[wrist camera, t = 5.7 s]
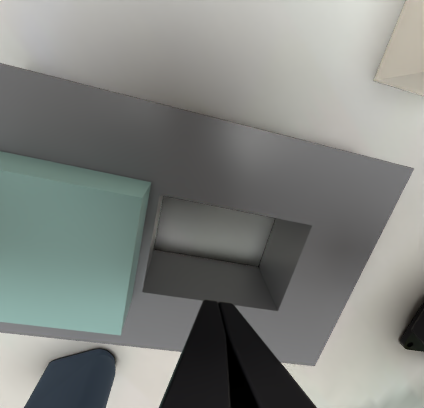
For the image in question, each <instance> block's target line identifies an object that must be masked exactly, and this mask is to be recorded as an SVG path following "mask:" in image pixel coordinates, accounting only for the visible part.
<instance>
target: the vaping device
mask: <svg viewBox="0 0 424 408" xmlns="http://www.w3.org/2000/svg"><path fill="white" fill-rule="evenodd" d="M114 377H115V359H114V357H113V356H112V355H111V354H110V353H109V352H108V351H106V350H103V349H95V350H91V351H87V352H84V353H80V354H76V355H72V356H69V357H65V358H61V359H58V360H54V361H52V362H50V363H49V364H48V366H47V368H46V370H45V371H44V373H43V375H42V377H41V378H40V380H39V382H38V384H37V386H36V387H35V389H34V391H33V393H32V394H31V396H30V398H29V400H28V401H27V403H26V405H25V407H24V408H106V405H107V401H108V398H109V394H110V391H111V387H112V384H113V380H114Z"/></svg>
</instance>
